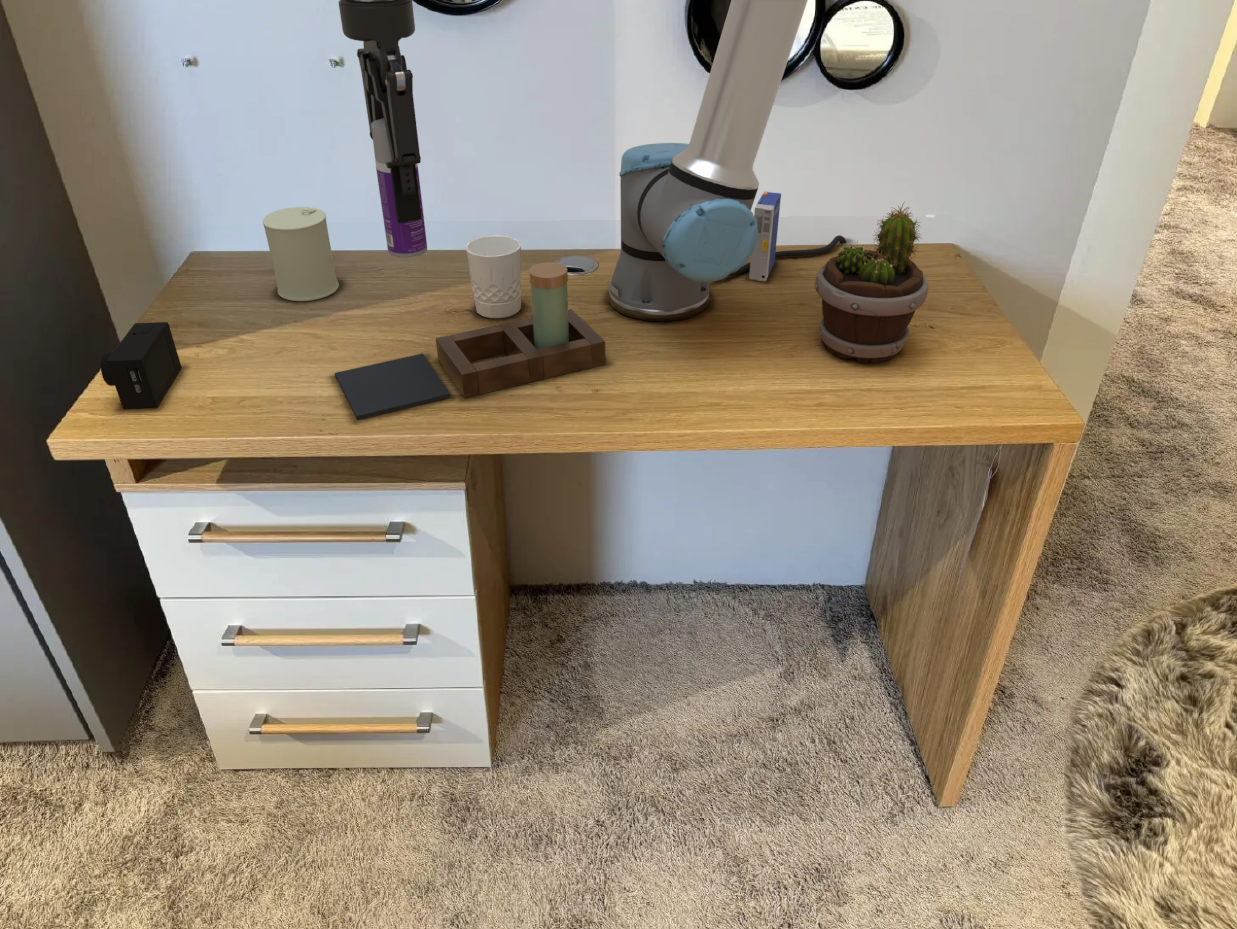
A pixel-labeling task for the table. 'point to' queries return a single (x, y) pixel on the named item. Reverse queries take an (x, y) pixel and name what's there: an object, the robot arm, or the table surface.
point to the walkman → (765, 236)
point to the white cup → (495, 275)
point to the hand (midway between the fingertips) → (403, 212)
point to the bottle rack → (516, 355)
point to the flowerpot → (872, 293)
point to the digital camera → (142, 365)
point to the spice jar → (549, 304)
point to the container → (399, 236)
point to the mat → (391, 386)
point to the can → (301, 253)
